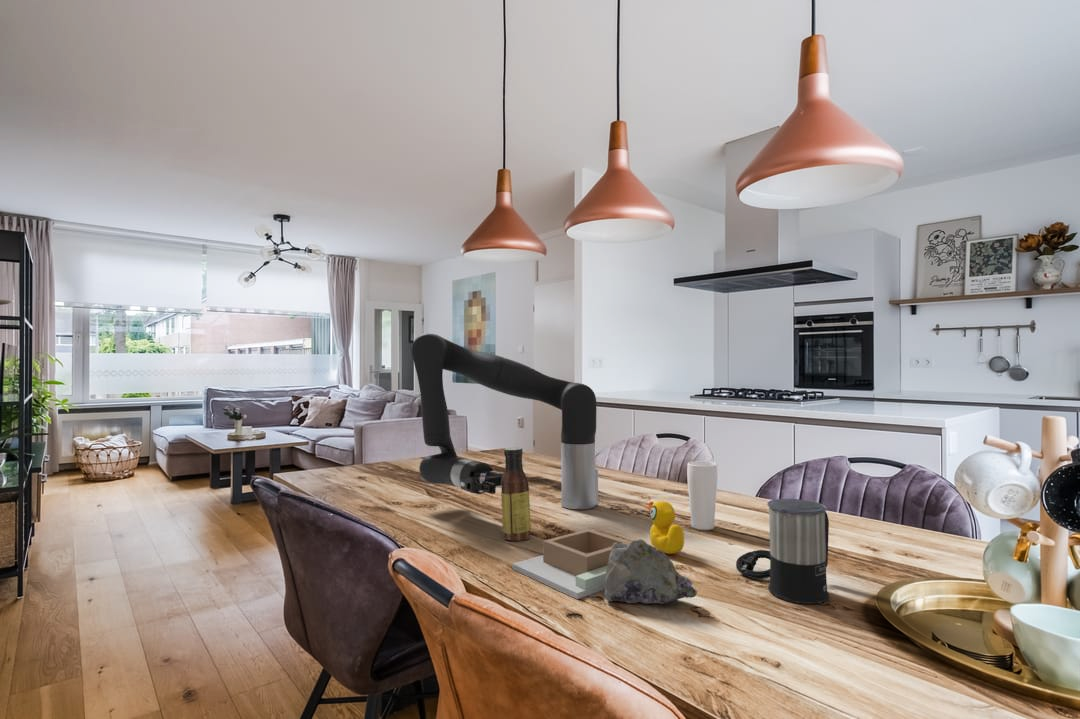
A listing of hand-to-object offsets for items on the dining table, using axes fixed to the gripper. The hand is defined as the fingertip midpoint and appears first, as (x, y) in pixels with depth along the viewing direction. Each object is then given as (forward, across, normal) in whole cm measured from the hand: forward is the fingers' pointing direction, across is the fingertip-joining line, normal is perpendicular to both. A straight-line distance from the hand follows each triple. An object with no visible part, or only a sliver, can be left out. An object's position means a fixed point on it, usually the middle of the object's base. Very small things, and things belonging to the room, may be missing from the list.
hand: (510, 486), depth 127 cm
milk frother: (+53, +19, +11) cm, 57 cm away
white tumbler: (+24, +38, +11) cm, 46 cm away
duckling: (+29, +18, +11) cm, 36 cm away
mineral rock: (+43, -4, +11) cm, 45 cm away
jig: (+26, -1, +11) cm, 28 cm away
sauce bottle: (+2, 0, +11) cm, 11 cm away
